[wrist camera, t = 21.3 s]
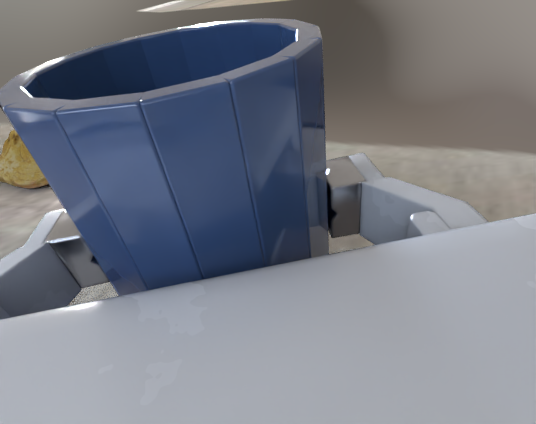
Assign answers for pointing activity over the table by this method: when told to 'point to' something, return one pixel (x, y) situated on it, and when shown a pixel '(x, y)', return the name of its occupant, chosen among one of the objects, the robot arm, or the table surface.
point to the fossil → (19, 165)
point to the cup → (184, 148)
